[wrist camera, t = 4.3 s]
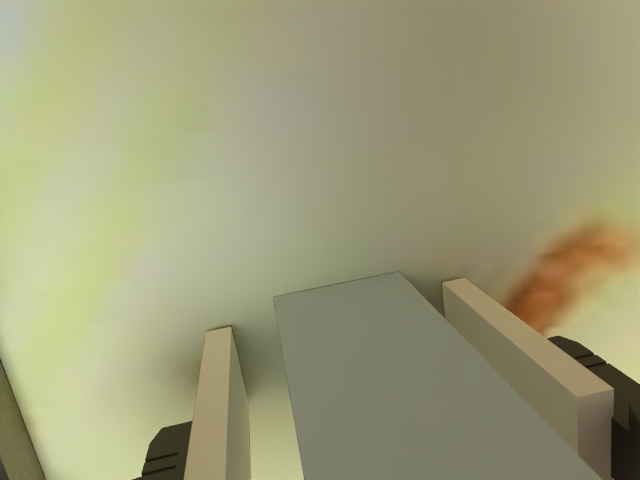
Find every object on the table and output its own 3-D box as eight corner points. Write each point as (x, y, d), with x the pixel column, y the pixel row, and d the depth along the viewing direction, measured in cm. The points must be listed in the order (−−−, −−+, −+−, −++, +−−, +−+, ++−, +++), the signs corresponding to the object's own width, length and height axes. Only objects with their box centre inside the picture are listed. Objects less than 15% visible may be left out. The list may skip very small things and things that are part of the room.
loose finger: (273, 297, 15) (330, 632, 5) (399, 271, 15) (659, 539, 6) (296, 416, 16) (377, 865, 7) (412, 390, 17) (647, 773, 7)
